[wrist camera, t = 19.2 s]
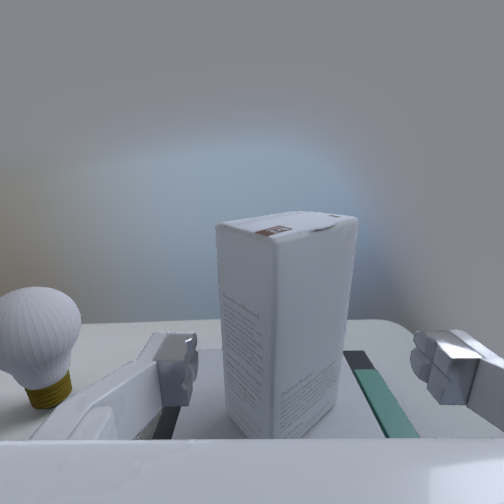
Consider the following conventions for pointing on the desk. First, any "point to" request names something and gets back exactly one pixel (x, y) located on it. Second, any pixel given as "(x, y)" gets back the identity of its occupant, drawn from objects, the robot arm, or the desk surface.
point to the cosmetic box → (283, 317)
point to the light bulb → (39, 342)
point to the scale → (327, 427)
